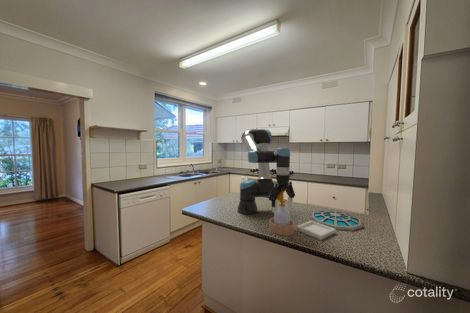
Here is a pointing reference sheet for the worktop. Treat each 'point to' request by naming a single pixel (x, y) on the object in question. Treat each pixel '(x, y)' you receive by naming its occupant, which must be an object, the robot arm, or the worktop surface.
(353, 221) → the decorative platform
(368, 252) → the worktop surface
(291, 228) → the holder ring
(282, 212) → the soap bottle
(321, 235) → the tray
